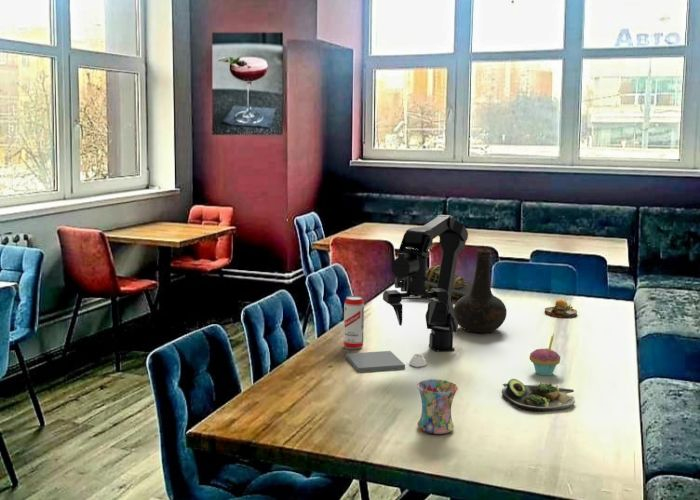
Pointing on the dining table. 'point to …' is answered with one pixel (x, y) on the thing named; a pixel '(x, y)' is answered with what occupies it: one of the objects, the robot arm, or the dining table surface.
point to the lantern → (458, 284)
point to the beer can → (353, 322)
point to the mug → (436, 405)
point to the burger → (561, 310)
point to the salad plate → (536, 396)
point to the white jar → (417, 360)
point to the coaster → (375, 361)
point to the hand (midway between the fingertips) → (415, 324)
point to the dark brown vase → (480, 301)
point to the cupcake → (545, 360)
